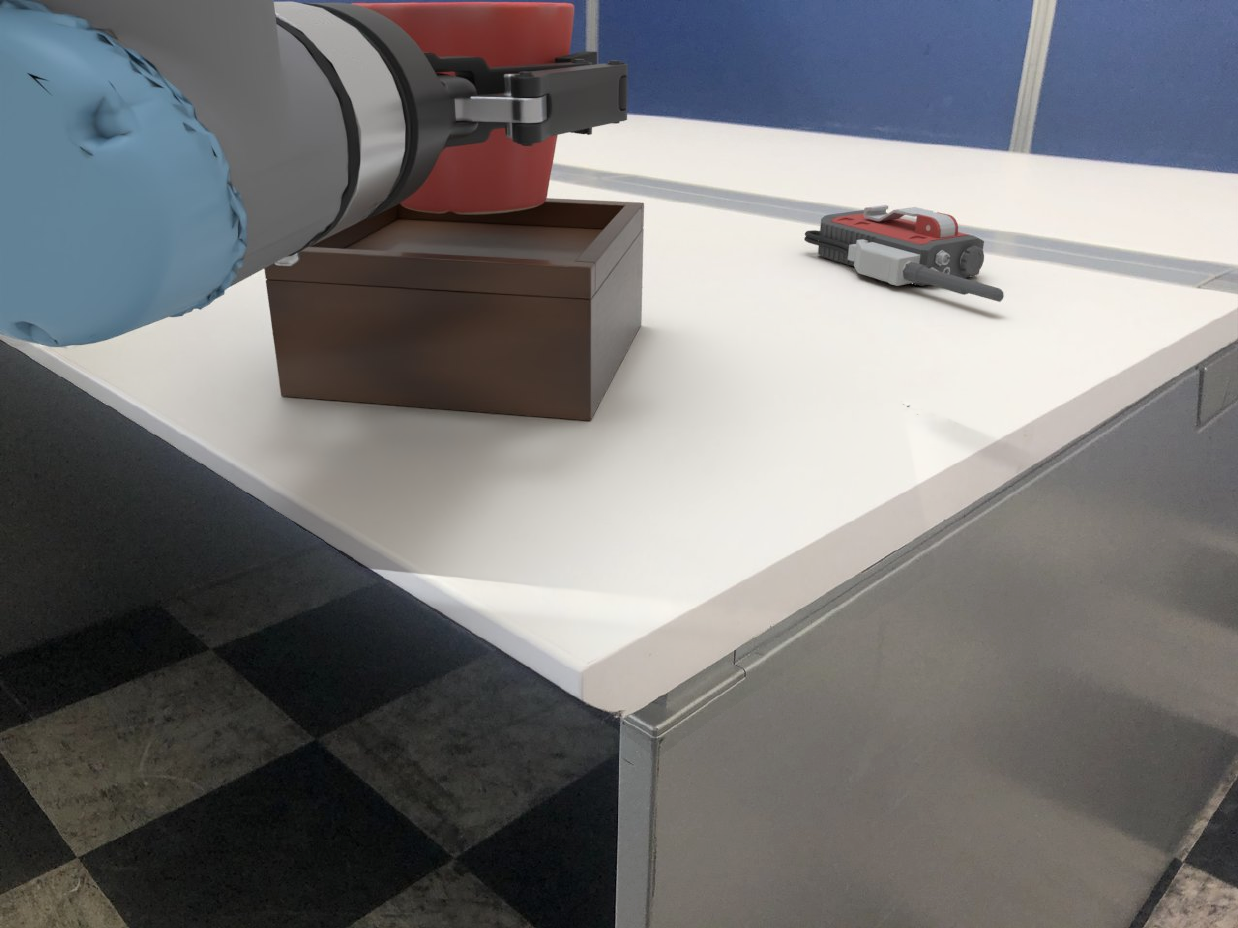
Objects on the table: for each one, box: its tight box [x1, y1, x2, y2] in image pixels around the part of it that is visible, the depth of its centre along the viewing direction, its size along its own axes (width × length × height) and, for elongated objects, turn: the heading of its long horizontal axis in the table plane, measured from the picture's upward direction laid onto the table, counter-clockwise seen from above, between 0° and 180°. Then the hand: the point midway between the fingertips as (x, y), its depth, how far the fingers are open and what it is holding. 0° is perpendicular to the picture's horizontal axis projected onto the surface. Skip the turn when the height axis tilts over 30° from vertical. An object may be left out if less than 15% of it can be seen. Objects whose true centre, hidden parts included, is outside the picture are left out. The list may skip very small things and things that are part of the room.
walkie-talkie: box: [803, 204, 1005, 303], centre depth 74 cm, size 9×4×20 cm
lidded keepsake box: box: [263, 197, 645, 421], centre depth 56 cm, size 16×16×8 cm
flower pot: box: [351, 1, 575, 215], centre depth 52 cm, size 11×11×10 cm
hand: (491, 76), depth 55 cm, fingers closed on flower pot, 10 cm apart
